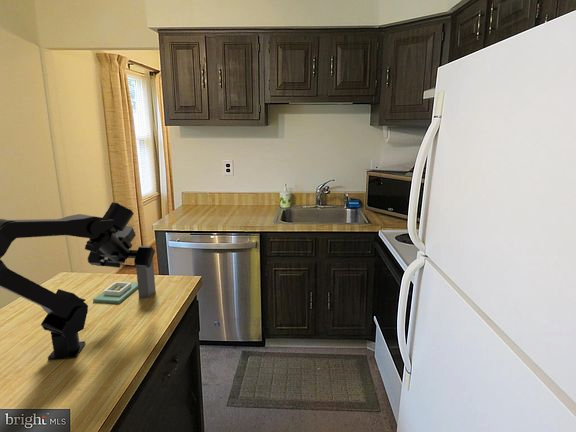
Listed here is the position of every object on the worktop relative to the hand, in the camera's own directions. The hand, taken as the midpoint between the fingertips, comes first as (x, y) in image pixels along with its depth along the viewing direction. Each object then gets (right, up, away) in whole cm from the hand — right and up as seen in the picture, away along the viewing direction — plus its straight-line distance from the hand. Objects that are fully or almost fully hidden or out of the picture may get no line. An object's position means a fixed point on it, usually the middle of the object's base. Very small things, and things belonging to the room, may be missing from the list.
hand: (133, 266), depth 113 cm
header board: (-10, -11, +10) cm, 18 cm away
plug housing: (0, -11, +10) cm, 15 cm away
